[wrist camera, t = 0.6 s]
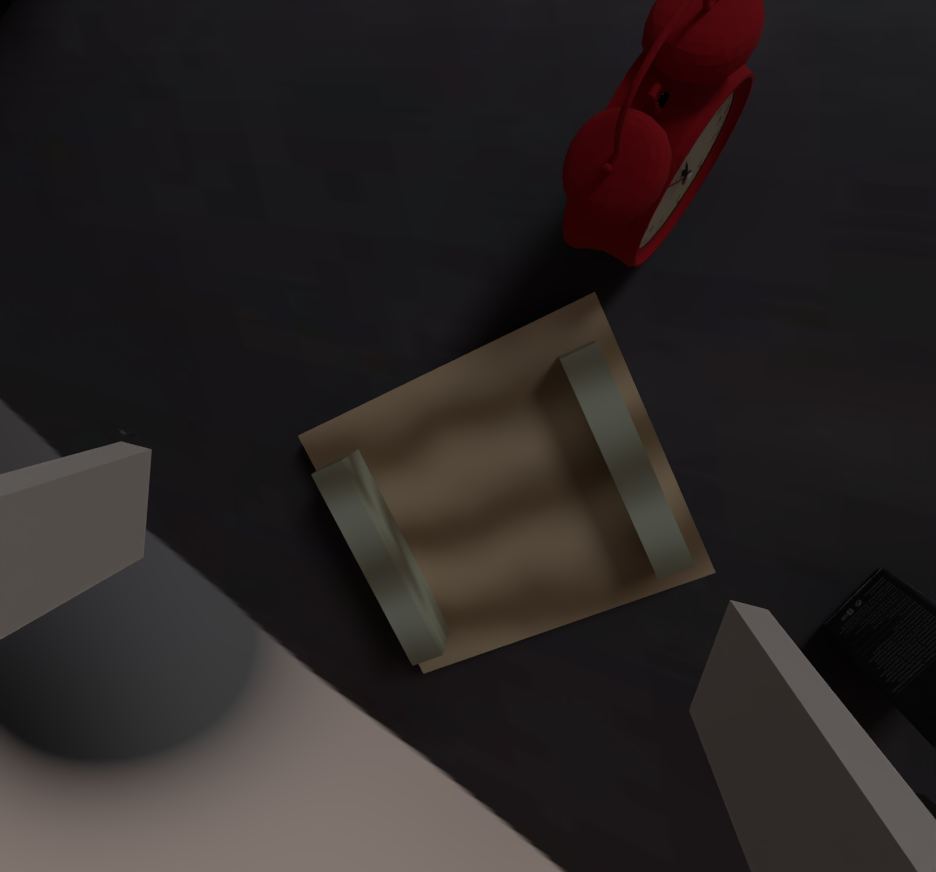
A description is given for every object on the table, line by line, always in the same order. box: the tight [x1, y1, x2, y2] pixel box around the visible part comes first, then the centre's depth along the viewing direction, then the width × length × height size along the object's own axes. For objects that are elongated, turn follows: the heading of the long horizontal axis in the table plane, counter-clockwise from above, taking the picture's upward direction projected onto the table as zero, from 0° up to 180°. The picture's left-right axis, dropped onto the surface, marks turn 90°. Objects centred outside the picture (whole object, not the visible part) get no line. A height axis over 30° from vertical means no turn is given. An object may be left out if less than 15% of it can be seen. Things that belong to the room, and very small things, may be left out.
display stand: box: [298, 292, 715, 674], centre depth 33 cm, size 19×21×6 cm
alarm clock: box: [562, 0, 765, 268], centre depth 24 cm, size 10×6×15 cm, turn 148°
